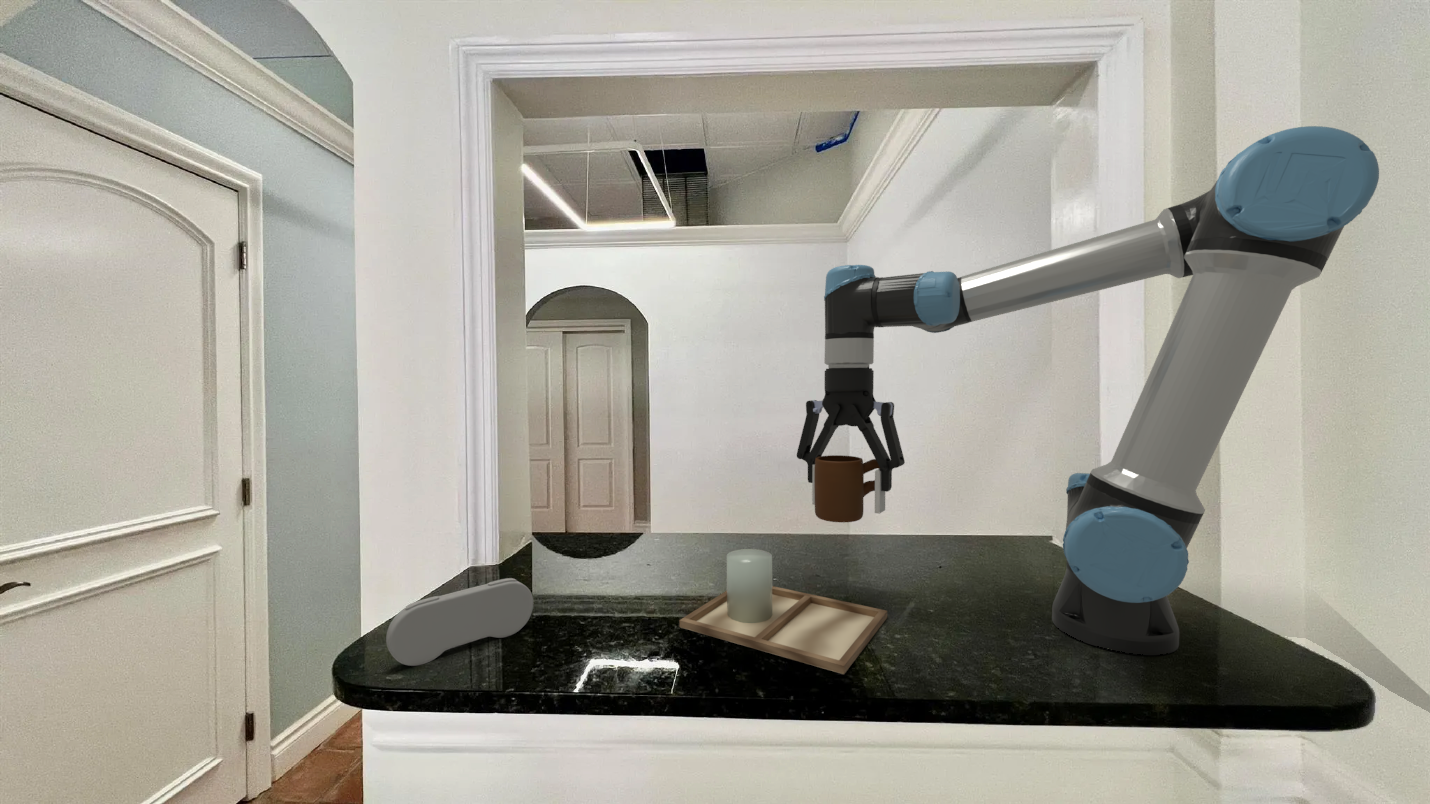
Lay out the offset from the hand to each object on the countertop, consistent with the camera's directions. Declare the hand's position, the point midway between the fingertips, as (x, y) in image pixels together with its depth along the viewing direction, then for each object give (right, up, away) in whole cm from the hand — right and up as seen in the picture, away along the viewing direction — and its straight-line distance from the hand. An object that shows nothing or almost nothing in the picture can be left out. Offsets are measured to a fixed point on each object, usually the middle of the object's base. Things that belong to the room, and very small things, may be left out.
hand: (847, 507), depth 89 cm
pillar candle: (-16, -16, -3) cm, 23 cm away
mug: (+1, -2, 0) cm, 2 cm away
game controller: (-57, -18, -10) cm, 60 cm away
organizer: (-11, -17, -6) cm, 21 cm away
